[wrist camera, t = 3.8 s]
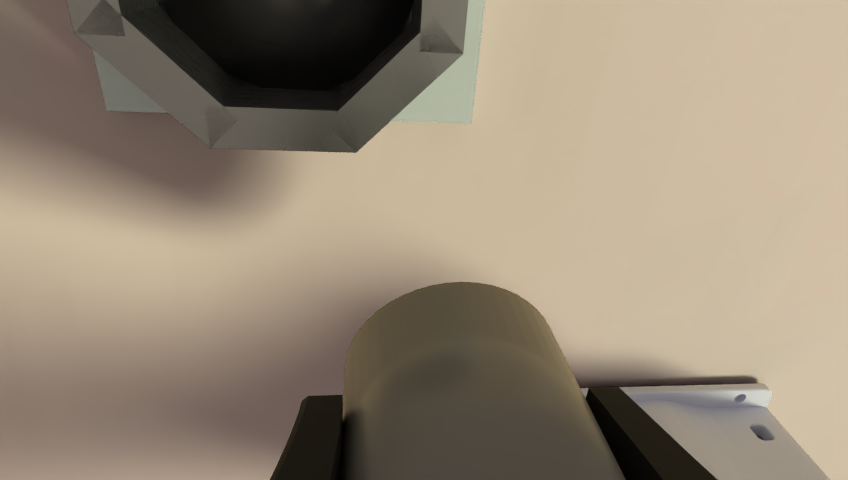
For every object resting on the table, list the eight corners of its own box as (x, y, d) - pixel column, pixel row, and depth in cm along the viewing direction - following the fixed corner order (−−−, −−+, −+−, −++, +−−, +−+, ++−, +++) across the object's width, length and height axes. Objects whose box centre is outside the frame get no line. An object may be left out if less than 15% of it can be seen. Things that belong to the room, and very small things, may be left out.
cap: (574, 281, 10) (739, 536, 6) (536, 439, 13) (634, 713, 8) (342, 282, 10) (324, 565, 5) (345, 447, 12) (335, 746, 7)
